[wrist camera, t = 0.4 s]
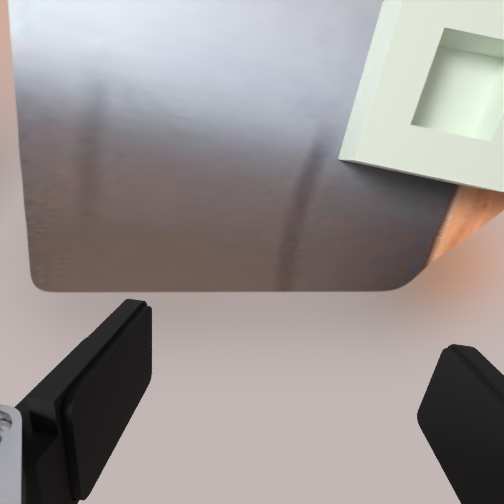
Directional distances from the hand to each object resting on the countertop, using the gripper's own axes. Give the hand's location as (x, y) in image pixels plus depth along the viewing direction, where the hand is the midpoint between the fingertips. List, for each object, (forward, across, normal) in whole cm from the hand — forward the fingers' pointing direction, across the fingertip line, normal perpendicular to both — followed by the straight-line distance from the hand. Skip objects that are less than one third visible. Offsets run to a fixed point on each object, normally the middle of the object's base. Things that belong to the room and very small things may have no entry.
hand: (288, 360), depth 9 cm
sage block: (+30, -15, -14) cm, 37 cm away
